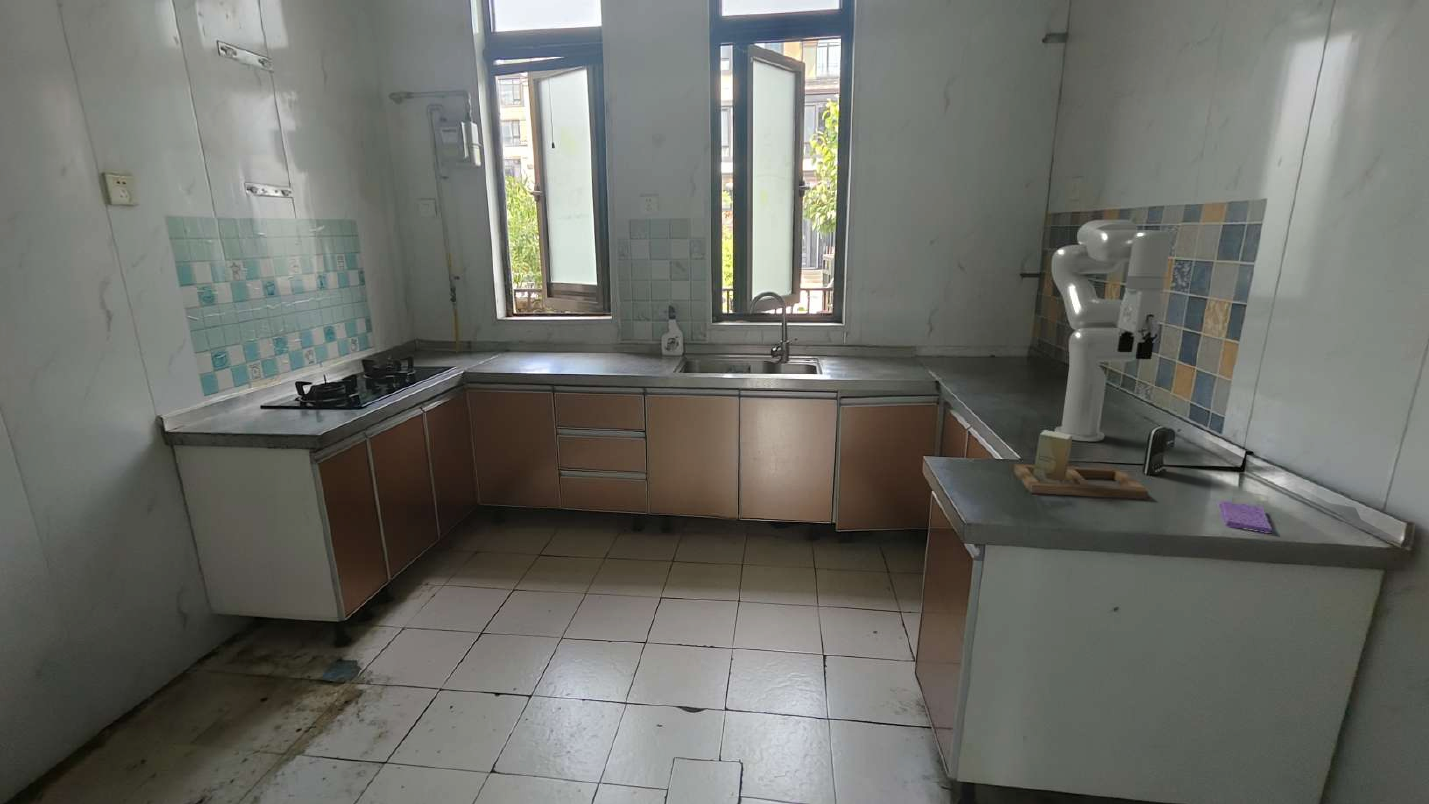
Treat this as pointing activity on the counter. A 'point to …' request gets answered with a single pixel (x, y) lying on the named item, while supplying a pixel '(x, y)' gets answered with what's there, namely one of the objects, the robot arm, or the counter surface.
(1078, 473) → the rack
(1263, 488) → the counter surface
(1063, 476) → the skincare box
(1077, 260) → the robot arm
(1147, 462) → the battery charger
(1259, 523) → the sponges
